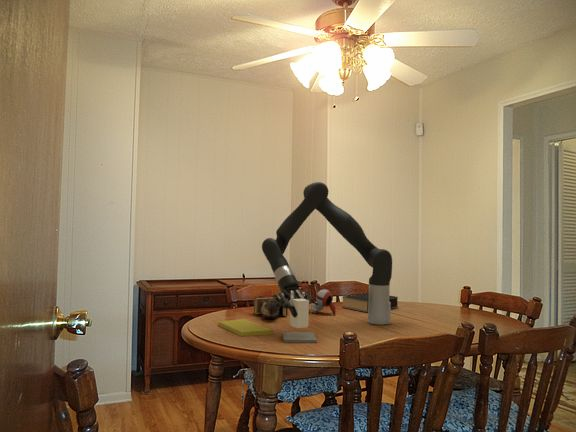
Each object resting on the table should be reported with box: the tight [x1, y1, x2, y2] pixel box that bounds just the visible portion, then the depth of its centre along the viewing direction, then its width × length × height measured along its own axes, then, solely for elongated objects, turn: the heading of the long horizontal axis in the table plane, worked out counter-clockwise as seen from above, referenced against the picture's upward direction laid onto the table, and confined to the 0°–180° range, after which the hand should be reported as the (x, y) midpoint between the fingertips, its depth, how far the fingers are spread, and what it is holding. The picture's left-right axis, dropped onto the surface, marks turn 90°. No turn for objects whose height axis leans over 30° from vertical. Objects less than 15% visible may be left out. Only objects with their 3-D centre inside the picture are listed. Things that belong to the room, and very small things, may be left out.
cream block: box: [289, 299, 310, 329], centre depth 169 cm, size 5×5×10 cm
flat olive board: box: [217, 318, 274, 337], centre depth 181 cm, size 12×2×24 cm
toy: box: [309, 288, 336, 316], centre depth 222 cm, size 14×15×14 cm
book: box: [342, 292, 398, 313], centre depth 239 cm, size 17×25×7 cm
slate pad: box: [282, 331, 318, 344], centre depth 169 cm, size 12×12×1 cm
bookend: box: [253, 293, 289, 320], centre depth 208 cm, size 14×11×24 cm
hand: (302, 315), depth 167 cm, fingers closed on cream block, 5 cm apart
